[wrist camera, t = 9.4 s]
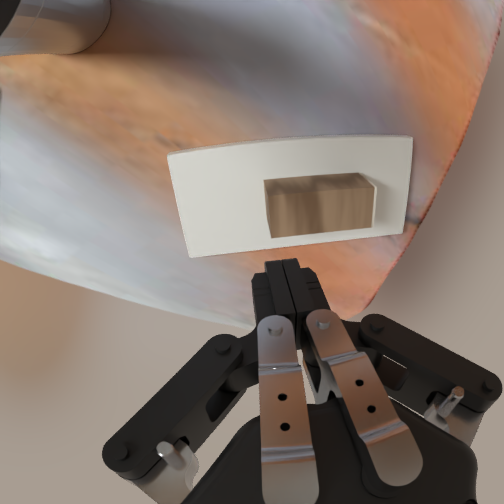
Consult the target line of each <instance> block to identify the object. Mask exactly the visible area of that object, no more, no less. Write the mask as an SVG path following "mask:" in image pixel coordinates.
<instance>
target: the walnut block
mask: <svg viewBox="0 0 504 504" xmlns="http://www.w3.org/2000/svg"><path fill="white" fill-rule="evenodd" d="M263 182H264V193H265V205H266V216H267V222H268V226H269V230H270V235H271V238H280V237H289V236H298V235H307V234H316V233H325V232H334V231H344V230H353V229H363V228H372V227H373V226H374V217H375V207H376V195H377V187H376V186H375V185H374V184H373V183H372V182H371V181H370V180H368V179H367V178H366V177H365V176H364V175H363V174H362V173H360V172H359V173H340V174H325V175H311V176H299V177H287V178H277V179H267V180H263Z"/></svg>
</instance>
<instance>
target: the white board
mask: <svg viewBox="0 0 504 504" xmlns="http://www.w3.org/2000/svg"><path fill="white" fill-rule="evenodd" d="M412 147H413V138H412V137H410V136H408V135H378V134H359V135H321V136H302V137H287V138H274V139H263V140H253V141H244V142H235V143H227V144H219V145H212V146H205V147H198V148H192V149H186V150H180V151H174V152H169V153H168V155H167V159H168V164H169V169H170V174H171V178H172V183H173V188H174V193H175V197H176V202H177V206H178V211H179V215H180V220H181V224H182V228H183V233H184V237H185V241H186V245H187V249H188V253H189V257H190V258H193V257H201V256H210V255H219V254H227V253H236V252H245V251H253V250H262V249H271V248H279V247H288V246H297V245H306V244H314V243H323V242H332V241H341V240H349V239H358V238H367V237H376V236H385V235H393V234H402V233H403V227H404V220H405V213H406V206H407V199H408V191H409V182H410V172H411V161H412ZM359 172H360V173H362V174H363V175H364V176H365V177H366V178H367V179H368V180H370V181H371V182H372V183H373V184H374V185H375V186H376V187H377V195H376V207H375V217H374V226H373V227H372V228H363V229H353V230H344V231H334V232H325V233H316V234H307V235H298V236H289V237H280V238H271V235H270V230H269V226H268V222H267V216H266V205H265V193H264V182H263V180H267V179H277V178H287V177H299V176H311V175H325V174H340V173H359Z"/></svg>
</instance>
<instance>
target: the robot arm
mask: <svg viewBox="0 0 504 504" xmlns="http://www.w3.org/2000/svg"><path fill="white" fill-rule="evenodd" d="M110 12H111V6H110V1H109V0H0V56H9V55H25V54H73V53H78V52H80V51H83V50H84V49H86V48H88V47H89V46H91V45H92V44H93V43H94V42H95V41H96V40H97V39H98V38H99V37H100V36H101V34H102V33H103V31H104V30H105V28H106V26H107V24H108V21H109V18H110ZM251 282H252V294H253V305H254V313H255V319H256V327H255V329H254V330H253V331H252V332H251V333H249V334H248V335H246V336H243V337H241V338H237V337H235V336H233V335H230V334H220V335H216V336H214V337H212V338H211V339H210V340H208V342H207V343H206V344H205V345H204V346H203V347H202V348H201V349H200V350H199V351H198V352H197V353H196V354H195V355H194V356H193V357H192V358H191V359H190V360H189V361H188V362H187V363H186V364H185V365H184V366H183V367H182V368H181V369H180V370H179V371H178V373H176V374H175V375H174V376H173V377H172V378H171V379H170V380H169V381H168V382H167V383H166V384H165V385H164V386H163V387H162V388H161V389H160V390H159V391H158V392H157V393H156V394H155V395H154V396H153V397H152V398H151V399H150V400H149V401H148V402H147V403H146V404H145V405H144V406H143V407H142V408H141V409H140V410H139V411H138V412H137V413H136V414H135V415H134V416H133V417H132V418H131V419H130V420H129V421H128V422H127V423H126V424H125V425H124V426H123V427H122V428H121V429H120V430H118V431H117V432H116V433H115V434H114V435H113V436H112V437H111V438H110V439H109V440H108V441H107V442H106V443H105V445H104V447H103V451H102V457H103V461H104V462H105V464H106V465H107V466H108V467H109V468H110V469H111V470H113V471H114V472H116V473H117V474H118V475H119V476H120V477H122V478H123V479H125V480H126V481H128V482H130V483H131V484H133V485H135V486H138V487H139V488H140V489H141V490H142V491H144V492H145V493H146V494H147V495H148V496H149V497H151V498H152V499H153V500H154V501H156V502H157V503H158V504H478V503H477V500H476V477H477V470H478V467H477V459H476V457H475V454H474V452H473V450H472V449H471V448H470V446H471V444H472V441H473V439H474V437H475V435H476V432H477V429H478V427H479V425H480V423H481V420H482V417H483V415H484V413H485V412H486V411H487V410H488V408H490V407H491V405H492V404H493V403H494V402H495V401H496V400H497V399H498V398H499V397H500V395H501V393H502V383H501V381H500V379H499V378H498V377H497V376H496V375H495V374H494V373H492V372H490V371H488V370H486V369H484V368H482V367H481V366H479V365H477V364H475V363H473V362H471V361H469V360H467V359H465V358H464V357H462V356H460V355H458V354H456V353H454V352H452V351H450V350H448V349H446V348H444V347H443V346H441V345H439V344H437V343H435V342H433V341H431V340H429V339H427V338H425V337H424V336H422V335H420V334H418V333H416V332H414V331H412V330H410V329H408V328H406V327H404V326H402V325H400V324H399V323H396V322H395V321H393V320H391V319H389V318H387V317H385V316H383V315H380V314H369V315H367V316H365V317H364V318H363V319H362V321H361V322H350V321H345V320H342V319H340V318H339V316H338V315H337V314H336V313H335V312H333V311H331V309H330V307H329V304H328V302H327V299H326V297H325V295H324V292H323V290H322V288H321V285H320V283H319V280H318V278H317V275H316V273H314V272H313V271H312V270H311V269H310V268H309V267H308V268H300V265H299V263H298V260H297V258H293V259H284V260H281V261H280V260H275V261H266V262H265V272H264V273H255V274H254V277H253V279H252V281H251ZM299 349H302V352H303V366H304V369H305V372H306V375H307V378H308V380H309V383H310V386H311V389H312V392H313V395H314V398H315V404H307V403H306V396H305V389H304V382H303V375H302V369H301V365H299V363H298V357H297V350H299ZM383 355H385V356H387V357H388V358H390V359H392V360H394V361H396V362H397V363H399V364H401V365H403V366H404V367H406V368H407V369H406V368H404V367H403V366H401V365H399V364H397V363H395V362H394V361H392V360H390V359H388V358H387V357H384V356H383ZM258 383H259V400H260V415H259V416H257V417H255V418H253V419H251V420H250V421H248V422H247V423H246V424H244V426H242V427H241V428H240V429H239V430H238V431H237V433H236V434H235V435H234V437H233V438H232V439H231V441H230V442H229V444H228V445H227V446H226V448H225V449H224V450H223V452H222V453H221V454H220V455H219V457H218V458H217V459H216V461H215V462H214V463H213V465H212V466H211V467H210V468H209V470H208V471H207V472H206V473H205V475H204V476H203V477H202V478H201V480H200V481H199V482H198V483H197V485H196V486H195V487H194V488H193V486H192V483H193V479H194V476H195V475H196V473H197V472H198V468H199V462H198V459H197V457H196V456H195V455H194V453H195V452H196V451H197V449H198V448H199V447H200V446H201V445H202V444H203V443H204V442H205V440H206V439H207V438H208V437H209V435H210V434H211V433H212V432H213V431H214V430H215V429H216V427H217V426H218V425H219V424H220V423H221V421H222V420H223V419H224V418H225V417H226V415H227V414H228V413H229V412H230V411H231V409H232V408H233V407H234V406H235V404H236V403H237V402H238V401H239V399H240V398H241V397H242V396H243V394H244V393H245V392H246V390H247V388H248V387H251V386H253V385H256V384H258ZM388 396H390V397H392V398H393V399H395V400H397V401H399V402H400V403H402V404H404V405H405V406H407V407H409V408H411V409H412V410H414V411H416V412H418V413H419V414H421V415H423V416H424V418H422V417H421V416H419V415H418V414H416V413H414V412H413V411H411V410H410V409H408V408H406V407H405V406H403V405H402V404H400V403H398V402H397V401H395V400H393V399H391V398H389V397H388Z"/></svg>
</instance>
